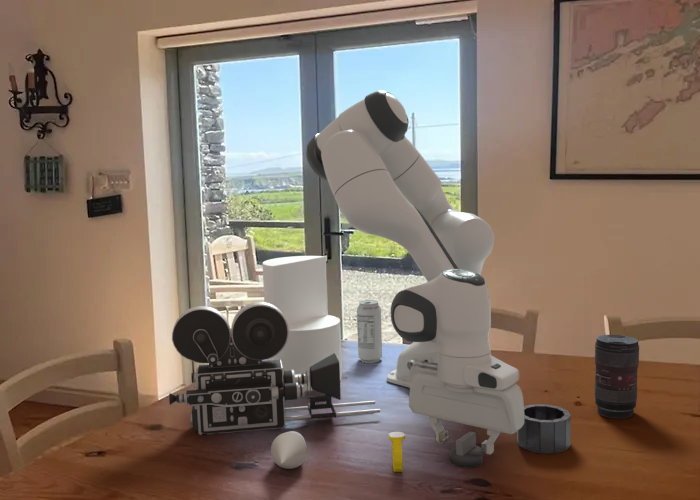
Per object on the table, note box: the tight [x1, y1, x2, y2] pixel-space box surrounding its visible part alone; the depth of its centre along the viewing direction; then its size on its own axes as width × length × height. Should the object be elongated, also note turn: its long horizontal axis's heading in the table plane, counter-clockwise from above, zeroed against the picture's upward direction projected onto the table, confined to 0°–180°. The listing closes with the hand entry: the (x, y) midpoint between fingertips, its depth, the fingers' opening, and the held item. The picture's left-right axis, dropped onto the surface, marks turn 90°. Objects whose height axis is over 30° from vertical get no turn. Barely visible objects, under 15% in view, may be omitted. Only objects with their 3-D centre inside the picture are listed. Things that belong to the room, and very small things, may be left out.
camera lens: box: [594, 334, 640, 419], centre depth 146 cm, size 8×8×15 cm
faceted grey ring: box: [516, 403, 572, 455], centre depth 132 cm, size 9×9×6 cm
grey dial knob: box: [448, 431, 484, 469], centre depth 126 cm, size 6×6×4 cm
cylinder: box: [262, 255, 343, 392], centre depth 172 cm, size 17×17×28 cm
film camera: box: [168, 301, 381, 436], centre depth 145 cm, size 40×12×24 cm, turn 99°
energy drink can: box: [356, 299, 383, 364], centre depth 188 cm, size 6×6×15 cm
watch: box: [387, 431, 406, 473], centre depth 123 cm, size 6×3×6 cm, turn 0°
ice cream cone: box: [270, 430, 308, 470], centre depth 124 cm, size 6×6×15 cm
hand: (464, 447), depth 126 cm, fingers open, 7 cm apart
